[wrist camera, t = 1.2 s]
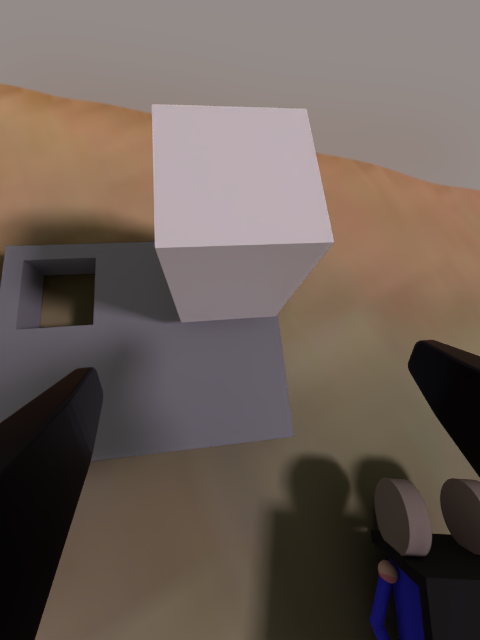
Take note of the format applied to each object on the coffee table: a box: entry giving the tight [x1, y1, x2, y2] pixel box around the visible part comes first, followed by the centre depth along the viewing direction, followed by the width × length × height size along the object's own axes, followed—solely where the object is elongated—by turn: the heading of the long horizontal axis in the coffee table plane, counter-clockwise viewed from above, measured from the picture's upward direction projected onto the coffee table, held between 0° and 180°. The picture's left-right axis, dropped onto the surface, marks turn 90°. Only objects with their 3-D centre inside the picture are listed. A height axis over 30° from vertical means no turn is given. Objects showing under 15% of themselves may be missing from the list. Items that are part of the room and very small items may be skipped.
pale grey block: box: [152, 104, 334, 322], centre depth 16 cm, size 6×6×11 cm
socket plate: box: [0, 242, 294, 461], centre depth 20 cm, size 14×18×2 cm
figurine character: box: [369, 478, 480, 640], centre depth 15 cm, size 7×8×15 cm
